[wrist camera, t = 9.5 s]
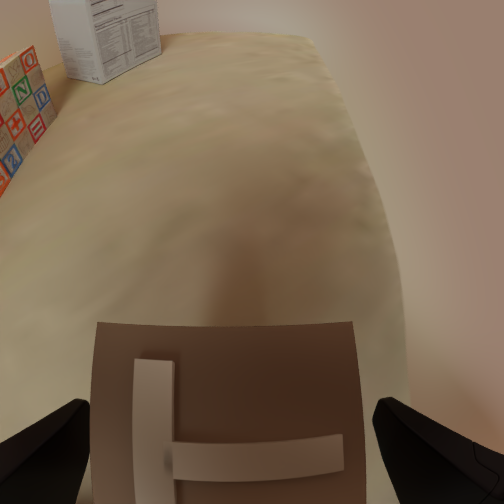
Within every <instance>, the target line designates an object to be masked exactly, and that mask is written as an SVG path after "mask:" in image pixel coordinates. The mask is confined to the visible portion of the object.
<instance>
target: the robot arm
mask: <svg viewBox="0 0 504 504" xmlns="http://www.w3.org/2000/svg"><path fill="white" fill-rule="evenodd" d="M372 422H373V426H374V430H375V433H376V437H377V441H378V444H379V448H380V452H381V456H382V459H383V462H384V464H385V467H386V469H387V472H388V474H389V477H390V479H391V482H392V485H393V487H394V490H395V492H396V495H397V497H398V500H399V503H400V504H504V455H503V454H500V453H498V452H495V451H492V450H490V449H488V448H486V447H484V446H482V445H479V444H478V443H476V442H472V440H470V439H468V438H466V437H464V436H462V435H460V434H458V433H456V432H454V431H452V430H450V429H449V428H447V427H445V426H443V425H441V424H439V423H437V422H435V421H434V420H432V419H430V418H428V417H426V416H425V415H423V414H421V413H419V412H417V411H416V410H414V409H412V408H410V407H409V406H407V405H405V404H403V403H402V402H400V401H398V400H396V399H395V398H393V397H386V398H381V399H380V400H379V401H378V403H377V405H376V408H375V411H374V414H373V418H372ZM89 454H90V404H89V402H88V401H86V400H83V399H78V398H77V399H74V400H72V401H71V402H69V403H67V404H66V405H64V406H62V407H61V408H59V409H57V410H56V411H54V412H52V413H51V414H49V415H47V416H46V417H44V418H42V419H41V420H39V421H37V422H36V423H34V424H32V425H31V426H29V427H27V428H26V429H24V430H22V431H21V432H19V433H17V434H15V435H14V436H12V437H10V438H8V439H7V440H5V441H3V442H1V443H0V504H75V503H76V499H77V496H78V492H79V489H80V486H81V482H82V479H83V476H84V473H85V469H86V466H87V463H88V459H89Z"/></svg>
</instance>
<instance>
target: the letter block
mask: <svg viewBox="0 0 504 504" xmlns="http://www.w3.org/2000/svg"><path fill="white" fill-rule="evenodd" d="M90 462H91V478H92V490H93V500H94V504H366V454H365V434H364V420H363V407H362V396H361V386H360V376H359V368H358V360H357V352H356V344H355V337H354V330H353V324H352V321H351V322H338V323H324V324H307V325H286V326H254V327H186V326H155V325H134V324H118V323H104V322H97V330H96V337H95V346H94V356H93V366H92V379H91V397H90Z"/></svg>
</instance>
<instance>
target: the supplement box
mask: <svg viewBox="0 0 504 504" xmlns="http://www.w3.org/2000/svg"><path fill="white" fill-rule="evenodd" d="M49 5H50V10H51V15H52V20H53V24H54V28H55V33H56V37H57V41H58V45H59V48H60V51H61V56H62V59H63V63H64V67H65V70H66V74H67V77H68V78H73V79H78V80H83V81H88V82H93V83H97V84H104V83H106V82H108V81H109V80H111V79H113V78H115V77H117V76H118V75H120V74H122V73H124V72H126V71H128V70H130V69H131V68H133V67H135V66H137V65H139V64H141V63H143V62H145V61H147V60H150V59H152V58H154V57H156V56H158V55H160V54H162V52H161V43H160V34H159V24H158V12H157V0H49Z"/></svg>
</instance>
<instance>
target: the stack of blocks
mask: <svg viewBox="0 0 504 504" xmlns="http://www.w3.org/2000/svg"><path fill="white" fill-rule="evenodd" d="M56 117H57V114H56V111H55V109H54V106H53V103H52V101H51V99H50V96H49V93H48V90H47V87H46V84H45V80H44V76H43V73H42V70H41V67H40V64H38V60H37V56H36V53H35V49H34V46H33V45H32V46H29V47H27V48H24V49H22V50H19V51H18V52H15V53H13V54H11V55H9V56H7V57H5V58H3V59H2V60H1V61H0V197H1V195H2V194H3V192H4V190H5V189H6V187H7V185H8V184H9V182H10V181H11V178H12V177H13V175H14V174H15V172H16V171H17V169H18V168H19V166H20V165H21V163H22V162H23V160H24V159H25V157H26V156H27V154H28V153H29V152H30V150H31V149H32V147H33V146H34V144H36V142H37V141H38V140H39V138H40V137H41V136H42V135H43V133H44V132H45V131H46V129H47V128H48V127H49V126H50V125H51V123H52V122H53V121H54V120H55V119H56Z"/></svg>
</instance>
